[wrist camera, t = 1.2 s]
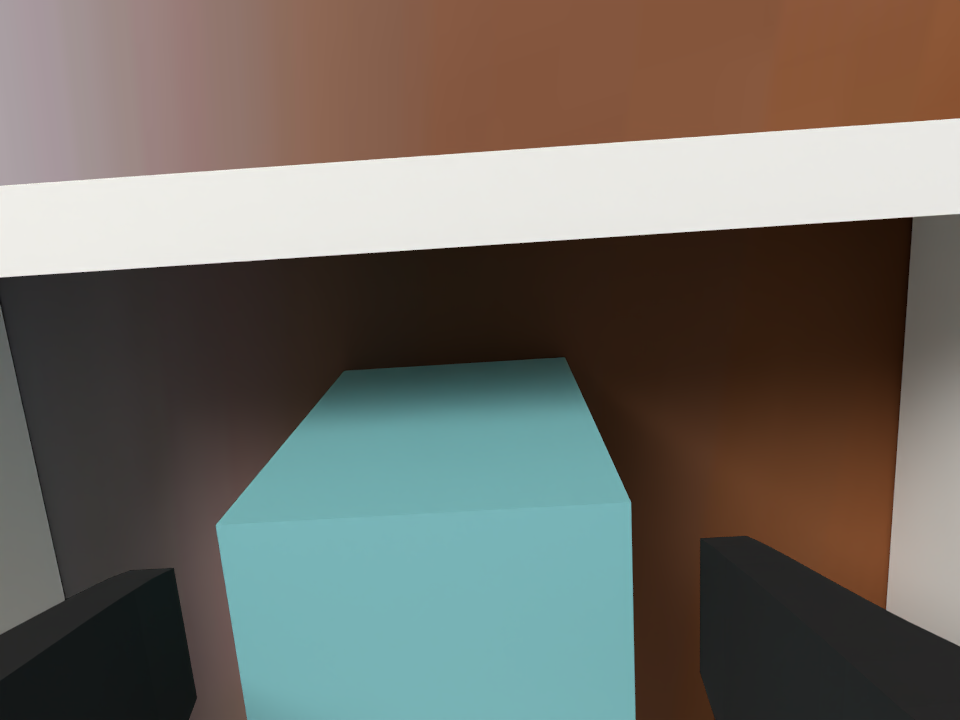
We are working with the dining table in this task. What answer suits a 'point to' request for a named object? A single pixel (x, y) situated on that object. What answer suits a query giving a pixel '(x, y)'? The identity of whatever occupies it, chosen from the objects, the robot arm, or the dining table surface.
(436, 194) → the open folding screen
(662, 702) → the dining table surface
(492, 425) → the teal block
